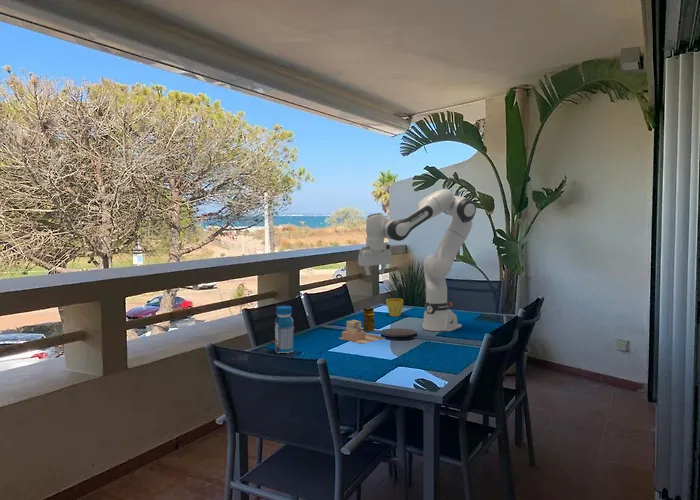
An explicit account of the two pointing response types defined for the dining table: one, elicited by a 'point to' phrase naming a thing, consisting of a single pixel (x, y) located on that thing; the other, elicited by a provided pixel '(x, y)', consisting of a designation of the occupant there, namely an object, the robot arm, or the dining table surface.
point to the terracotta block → (353, 336)
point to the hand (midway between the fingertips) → (375, 274)
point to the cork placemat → (367, 339)
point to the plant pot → (394, 306)
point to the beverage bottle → (284, 330)
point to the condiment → (368, 319)
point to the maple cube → (353, 326)
